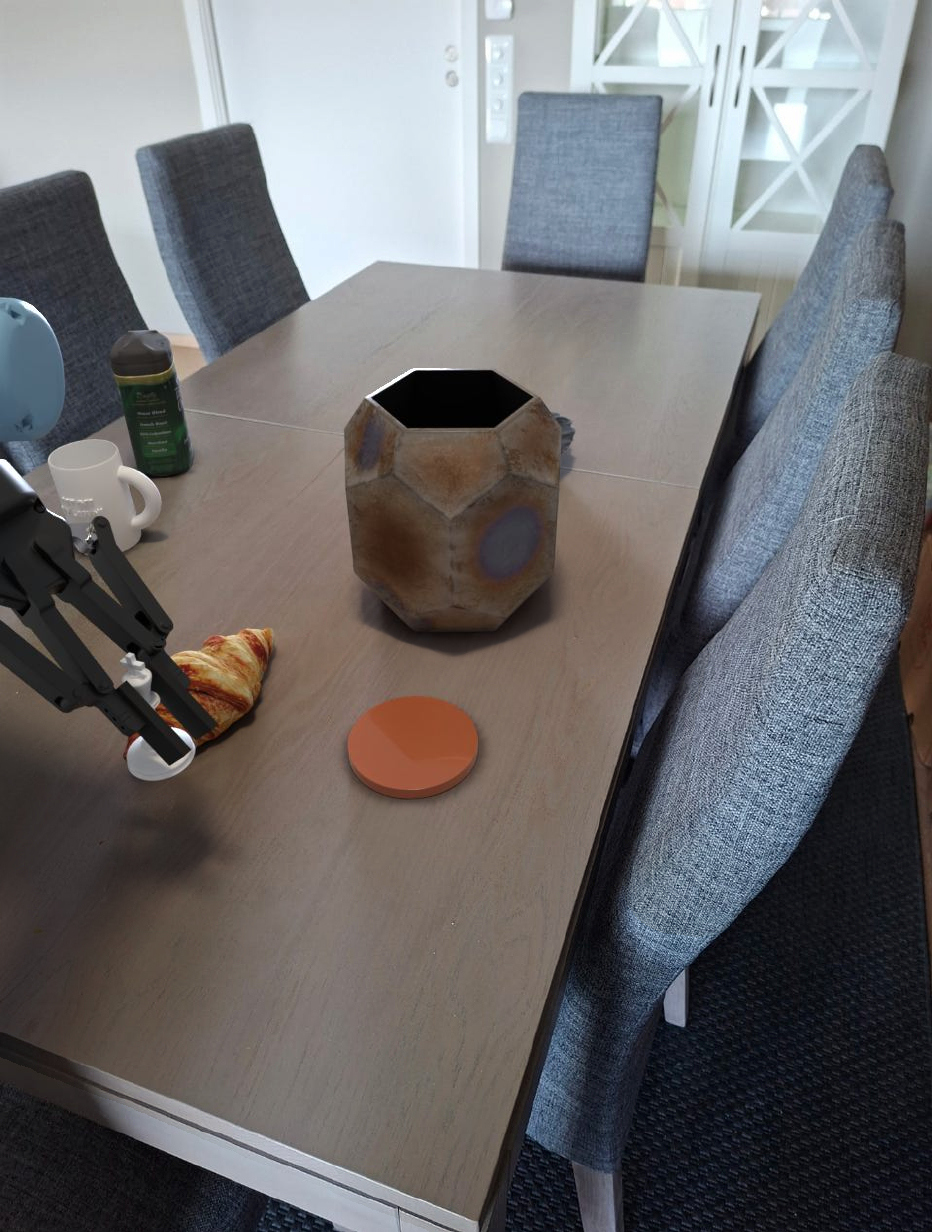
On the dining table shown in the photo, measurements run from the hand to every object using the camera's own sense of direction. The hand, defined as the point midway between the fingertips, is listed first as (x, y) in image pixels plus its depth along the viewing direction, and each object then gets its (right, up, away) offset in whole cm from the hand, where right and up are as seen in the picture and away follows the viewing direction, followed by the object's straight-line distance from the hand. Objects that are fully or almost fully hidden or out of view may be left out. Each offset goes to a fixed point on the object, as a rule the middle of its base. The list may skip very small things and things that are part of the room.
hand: (193, 744), depth 63 cm
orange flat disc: (+15, -3, +19) cm, 24 cm away
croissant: (-5, 0, +23) cm, 24 cm away
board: (+24, +31, +64) cm, 75 cm away
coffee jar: (-24, +31, +65) cm, 76 cm away
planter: (+18, +12, +39) cm, 44 cm away
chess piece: (-3, -2, +3) cm, 5 cm away
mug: (-24, +19, +48) cm, 57 cm away
